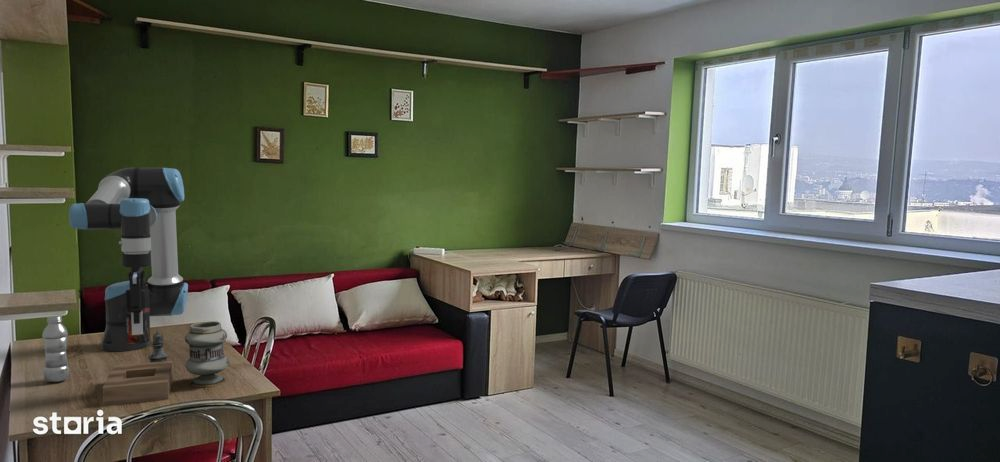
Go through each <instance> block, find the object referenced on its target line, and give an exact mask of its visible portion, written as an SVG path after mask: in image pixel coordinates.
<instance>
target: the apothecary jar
mask: <svg viewBox="0 0 1000 462" xmlns="http://www.w3.org/2000/svg"><path fill="white" fill-rule="evenodd" d="M227 339H228V333H227V331H226V330H225V329H223V327H222V324H221V322H220V321H214V320H210V321H209V320H208V321H199V322H195V323H192V324H191V325H190V329H189V331H188V332H187V333H186V335H185V336H184V341H185V343H187V344H188V346H189V348H188V349H189V359H187V361H186V362H185V369H186V371H187V372H189V373H190V374H192V375H195V376H197V377H195V378H194V377H193V378H192V379H191V380H190V381H189V384H190V385H192V386H193V387H195V388H196V387H197V388H198V387H199V388H205V387H208V388H209V387H214V386H218V384H219V385H221V384H222V383H223V384H224V382H225V381H226V378H225V377H224V376H222V375H218V374H220V373H221V372H222V371H224V370H225V369H226V368H227V367H229V366H228V365H229V364H230V363H229V362H230V361H229V358H228V357H227V355H225V354H224V353H225V351H224V350H225V349H224V342H225V341H226V340H227Z"/></svg>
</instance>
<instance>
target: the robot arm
mask: <svg viewBox="0 0 1000 462" xmlns="http://www.w3.org/2000/svg"><path fill="white" fill-rule="evenodd" d="M184 201H185V187H184V181H183V177H182V174H181V172H180V170H178V169H176V168H172V167H171V168H170V167H135V166H134V167H133V166H132V167H125V168H121V169H118V170H115V171H113V172H111V173H109V174H107V175H106V176H105V177H103V178H102V179H101V180H100V182H99V183H98V187H97V190H96V191H95V192H94V194H93V195H92V196H91V197H89V199H88V201H86V203H83V202H80V203H72V204H71V205H70V207H69V211H68V221H69V225H70V227H72V229H74V230H75V229H76V230H120V240H119V242H118V244H119V245H120V246H121V249H120V250H121V252H122V254H121V266H122V267H123V268H130V269H131V270H130V272H129V273H128V279H129V280H127V281H126V280H125V281H121V282H120V281H119V282H116V283H113V284H110V285H108V286H107V287H106V288H105V290H104V292H105V293H104V294H105V296H104V303H105V307H104V308H105V330H104V332H103V336H102V338H101V342H100V349H101V350H103V351H106V352H107V351H108V352H127V351H134V350H139V349H143V348H144V347H147V346H149V344H150V341H149V342H146V343H141V344H129V343H127V316H126V290H129V289H130V310H128V313H131V321H132V335H139V334H143V320H142V309H141V289H143V288H144V289H149V312H150V317H167V316H169V317H171V316H177V315H178V316H179V315H182V314H183V313H184V312H185V310H186V305H187V300H188V299H187V298H188V293H189V291H188V290H189V284H188V283H187V282H184V277H182V276H181V275H180V274H179V262H178V261H179V260H178V258H179V257H178V238H177V236H178V235H177V234H178V233H177V217H176V215H177V213H176V211H177V210H178V208H179V207H180V206H181V202H184ZM149 266H151V276H150V277H149V278H148V279H147V283H146V280H145V279H146V271H145V270H144V269H143V268H145V267H149Z"/></svg>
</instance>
